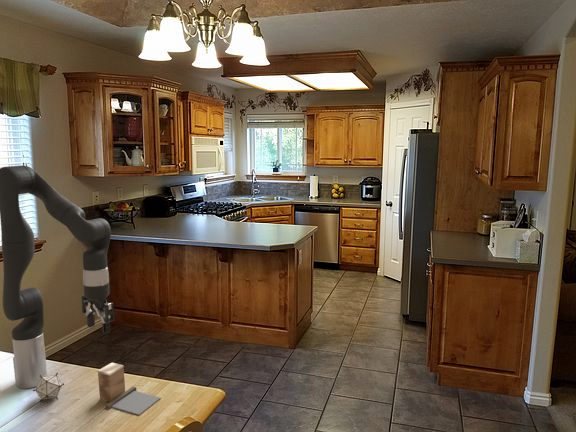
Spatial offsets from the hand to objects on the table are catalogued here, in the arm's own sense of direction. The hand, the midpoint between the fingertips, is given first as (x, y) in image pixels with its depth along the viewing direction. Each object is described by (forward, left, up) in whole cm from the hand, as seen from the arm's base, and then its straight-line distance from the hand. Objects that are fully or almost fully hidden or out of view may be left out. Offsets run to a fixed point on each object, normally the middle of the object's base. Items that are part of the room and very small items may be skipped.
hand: (98, 329), depth 144 cm
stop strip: (+7, 0, -23) cm, 24 cm away
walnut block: (+4, 0, -23) cm, 23 cm away
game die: (-14, -9, -23) cm, 28 cm away
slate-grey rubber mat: (+14, 0, -23) cm, 26 cm away
